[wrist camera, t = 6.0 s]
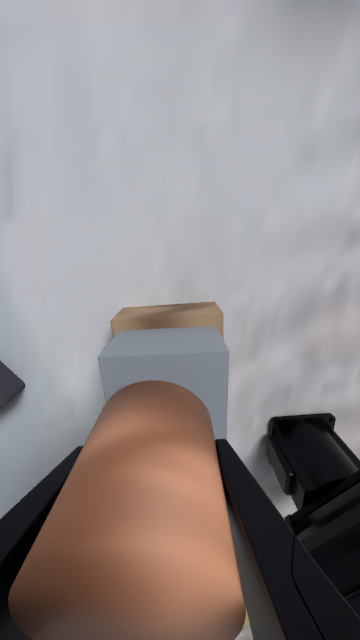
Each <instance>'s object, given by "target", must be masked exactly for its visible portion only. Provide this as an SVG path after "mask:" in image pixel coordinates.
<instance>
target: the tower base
mask: <svg viewBox="0 0 360 640" xmlns="http://www.w3.org/2000/svg"><path fill="white" fill-rule="evenodd" d="M110 322H111V327H112V333H113V337H114V336H115V335H116V333H117V332H118V331H122V330H142V329H163V328H184V327H204V326H216V328H217V329H218V331H219V333H220V335H221V337H222V339H223V312H222V311H221V310H220V308H219V307H218V306H217V304H216V303H215V302H202V303H187V304H173V305H158V306H143V307H129V308H123V309H122V310H121V311H120V312H119V313H118V314H117V315H116V316H115V317H114V318H113V319H112V320H111V321H110Z"/></svg>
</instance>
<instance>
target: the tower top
mask: <svg viewBox="0 0 360 640" xmlns="http://www.w3.org/2000/svg"><path fill="white" fill-rule="evenodd" d="M98 362H99V367H100V372H101V377H102V383H103V388H104V393H105V398H106V402H107V401H108V400H109V399H110V397H111V396H113V395H114V394H115V393H116V392H117V391H119V390H120V389H122V388H124V387H126V386H128V385H130V384H133V383H137V382H141V381H149V380H158V381H166V382H171V383H174V384H177V385H180V386H182V387H184V388H186V389H188V390H190V391H191V392H193V393H194V394H195V395H196V396H197V397H199V399H200V400H201V401H202V402H203V403H204V405H205V406H206V408H207V410H208V412H209V414H210V417H211V422H212V427H213V433H214V438H215V440H216V439H223V438H224V439H226V435H227V401H228V366H229V350H228V349H227V347H226V345H225V343H224V341H223V339H222V337H221V335H220V333H219V331H218V329H217V328H216V326H204V327H184V328H163V329H142V330H122V331H118V332H117V333H116V335H115V336H114V337H113V338H112V340H111V341H110V342H109V344H108V345H107V346H106V347H105V349H104V350H103V351H102V353H101V354H100V355H99V356H98Z"/></svg>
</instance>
